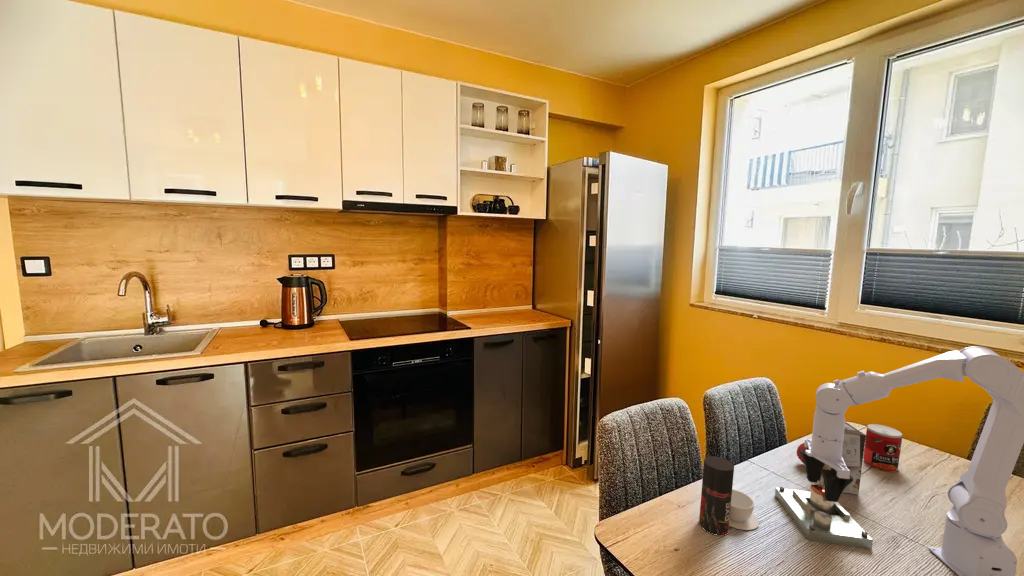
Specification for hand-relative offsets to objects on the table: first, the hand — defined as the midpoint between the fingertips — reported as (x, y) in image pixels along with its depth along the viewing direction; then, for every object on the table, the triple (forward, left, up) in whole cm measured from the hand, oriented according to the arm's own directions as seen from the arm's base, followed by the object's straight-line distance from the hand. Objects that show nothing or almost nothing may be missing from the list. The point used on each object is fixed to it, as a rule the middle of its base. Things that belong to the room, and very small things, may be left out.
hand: (822, 490), depth 95 cm
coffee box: (+16, -12, -6) cm, 21 cm away
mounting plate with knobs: (-2, +1, -6) cm, 6 cm away
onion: (+24, -9, -6) cm, 26 cm away
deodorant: (-10, +26, -6) cm, 29 cm away
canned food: (+30, -31, -6) cm, 44 cm away
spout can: (0, 0, -6) cm, 6 cm away
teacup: (-5, +20, -7) cm, 22 cm away
